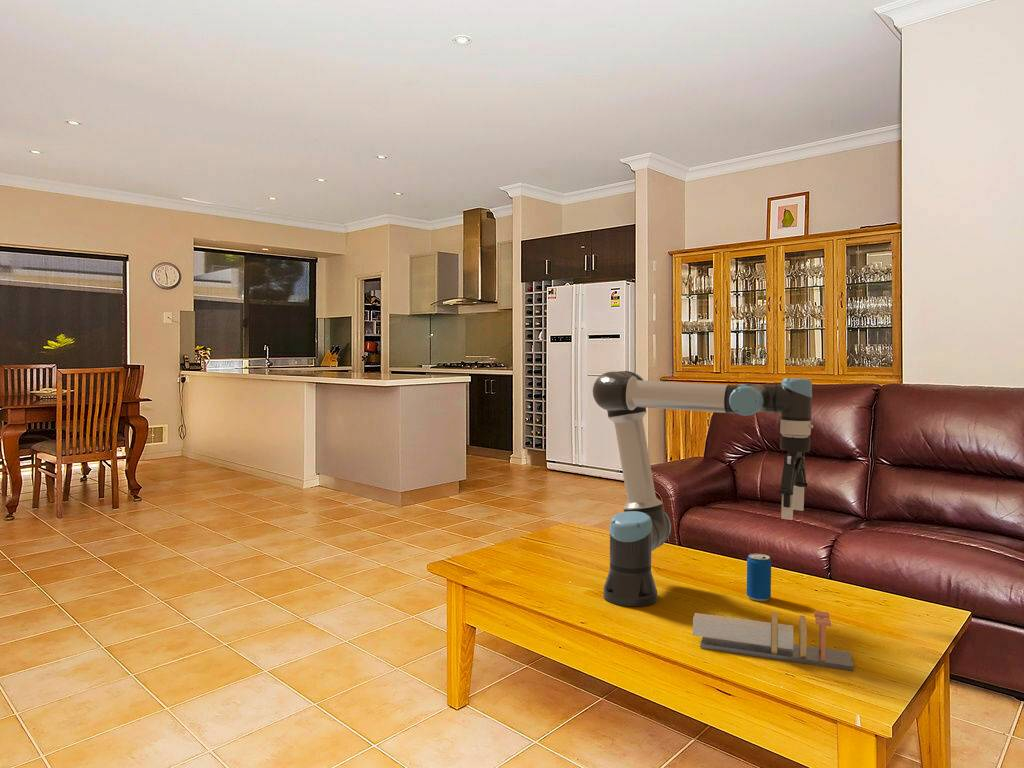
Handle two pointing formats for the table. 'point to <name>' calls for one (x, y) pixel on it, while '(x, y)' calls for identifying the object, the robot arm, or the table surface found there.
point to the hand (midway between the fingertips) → (792, 514)
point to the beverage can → (759, 577)
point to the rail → (798, 653)
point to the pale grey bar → (741, 630)
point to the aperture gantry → (822, 629)
